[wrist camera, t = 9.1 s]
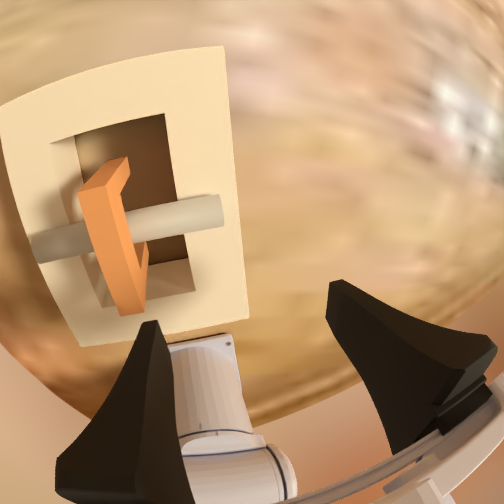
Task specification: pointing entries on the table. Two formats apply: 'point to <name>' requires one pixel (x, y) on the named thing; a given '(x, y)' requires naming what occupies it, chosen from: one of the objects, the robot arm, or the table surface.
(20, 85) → the table surface
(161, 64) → the cream frame with crossbar
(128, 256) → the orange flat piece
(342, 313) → the robot arm
